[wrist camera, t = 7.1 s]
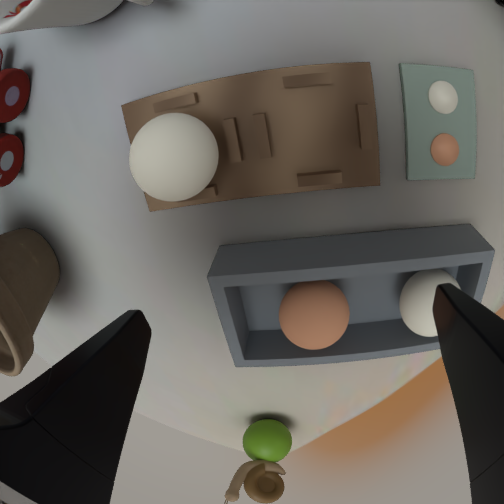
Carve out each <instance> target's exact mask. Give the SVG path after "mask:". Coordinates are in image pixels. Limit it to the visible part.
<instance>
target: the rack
mask: <svg viewBox="0 0 504 504" xmlns="http://www.w3.org/2000/svg"><path fill="white" fill-rule="evenodd" d="M121 107H122V111H123V115H124V120H125V124H126V128H127V132H128V136H129V140H130V144H132V142H133V140H134V138H135V136H136V134H137V133H138V131H139V130H140V129H141V128H142V127H143V126H144V125H145V124H146V123H147V122H149V121H150V120H152V119H154V118H156V117H158V116H160V115H163V114H168V113H183V114H188V115H191V116H193V117H195V118H197V119H199V120H200V121H202V122H203V123H204V124H205V125H206V126H207V127H208V128H209V129H210V130H211V132H212V133H213V135H214V137H215V139H216V142H217V146H218V153H219V158H218V165H217V169H216V172H215V174H214V176H213V178H212V180H211V181H210V183H209V184H208V185H207V186H206V187H205V188H204V189H203V190H202V191H201V192H199V193H198V194H197V195H195V196H193V197H191V198H188V199H186V200H182V201H174V202H171V201H163V200H159V199H156V198H154V197H152V196H150V195H148V194H147V193H146V192H144V194H145V197H146V201H147V204H148V207H149V211H150V212H151V211H157V210H163V209H170V208H176V207H183V206H190V205H197V204H204V203H211V202H218V201H226V200H234V199H242V198H250V197H258V196H267V195H276V194H286V193H295V192H305V191H316V190H327V189H339V188H351V187H365V186H380V165H379V145H378V131H377V118H376V108H375V98H374V89H373V81H372V74H371V67H370V62H354V63H331V64H316V65H305V66H295V67H286V68H278V69H270V70H263V71H257V72H251V73H245V74H239V75H234V76H229V77H224V78H219V79H214V80H209V81H205V82H201V83H196V84H192V85H188V86H184V87H180V88H176V89H173V90H169V91H166V92H162V93H159V94H155V95H152V96H149V97H145V98H142V99H139V100H136V101H133V102H130V103H127V104H124V105H121Z"/></svg>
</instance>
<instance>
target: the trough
mask: <svg viewBox="0 0 504 504" xmlns="http://www.w3.org/2000/svg"><path fill="white" fill-rule="evenodd" d="M494 252H495V250H494V248H493V247H492V246H491V245H490V244H489V243H488V242H487V241H486V240H485V239H484V238H483V236H482V235H481V234H480V233H479V232H478V231H477V230H476V229H475V228H474V227H473V226H472V225H471V224H463V225H450V226H437V227H425V228H413V229H400V230H388V231H377V232H365V233H353V234H342V235H330V236H319V237H308V238H297V239H286V240H275V241H264V242H254V243H243V244H233V245H222V246H219V249H218V251H217V254H216V256H215V258H214V261H213V263H212V266H211V268H210V271H209V273H208V275H207V278H208V282H209V285H210V288H211V292H212V295H213V298H214V302H215V305H216V308H217V311H218V315H219V318H220V321H221V324H222V327H223V330H224V334H225V337H226V340H227V343H228V346H229V349H230V352H231V355H232V358H233V361H234V364H235V367H273V366H297V365H314V364H327V363H339V362H350V361H360V360H369V359H377V358H385V357H392V356H399V355H406V354H412V353H419V352H425V351H430V350H436V349H440V344H439V339H438V336H433V337H426V336H421V335H418V334H416V333H415V332H413V331H411V330H410V329H409V328H408V327H407V325H406V324H405V323H404V321H403V319H402V317H401V313H400V307H399V301H400V295H401V292H402V289H403V287H404V285H405V284H406V282H407V281H408V280H409V279H410V277H412V276H413V275H414V274H416V273H417V272H419V271H421V270H427V269H435V268H436V269H441V270H443V271H446V272H447V273H449V274H450V275H451V276H453V277H454V278H455V280H456V281H457V283H458V284H459V286H460V289H461V290H462V291H463V292H465V293H466V294H468V295H469V296H471V297H472V298H474V299H475V300H476V301H478V302H479V303H481V301H482V297H483V294H484V291H485V287H486V284H487V280H488V277H489V273H490V269H491V265H492V261H493V257H494ZM316 280H326V281H328V282H331V283H332V284H334V285H336V286H337V287H338V288H339V289H340V290H341V291H342V292H343V294H344V295H345V297H346V299H347V302H348V305H349V311H350V316H349V322H348V326H347V328H346V330H345V332H344V334H343V335H342V336H341V337H340V339H339V340H337V341H336V342H335V343H334V344H332V345H330V346H328V347H326V348H323V349H317V350H310V349H304V348H301V347H299V346H297V345H295V344H294V343H292V342H291V341H290V340H289V339H288V338H287V337H286V336H285V334H284V333H283V331H282V328H281V326H280V322H279V308H280V304H281V301H282V299H283V297H284V296H285V294H286V293H287V292H288V290H289V289H290V288H292V287H293V286H294V285H296V284H297V283H299V282H304V281H316Z"/></svg>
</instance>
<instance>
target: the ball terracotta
mask: <svg viewBox="0 0 504 504" xmlns="http://www.w3.org/2000/svg"><path fill="white" fill-rule="evenodd" d="M349 316H350V311H349V305H348V302H347V299H346V297H345V295H344V294H343V292H342V291H341V290H340V289H339V288H338V287H337V286H336V285H334V284H332V283H331V282H328V281H326V280H316V281H304V282H299V283H297V284H296V285H294V286H293V287H292V288H290V289H289V290H288V292H287V293H286V294H285V296H284V297H283V299H282V301H281V304H280V308H279V322H280V326H281V328H282V331H283V333H284V334H285V336H286V337H287V338H288V339H289V340H290V341H291V342H292V343H294V344H295V345H297V346H299V347H301V348H304V349H310V350H317V349H323V348H326V347H328V346H330V345H332V344H334V343H335V342H336V341H337V340H339V339H340V337H341V336H342V335H343V334H344V332H345V330H346V328H347V326H348V322H349Z"/></svg>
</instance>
